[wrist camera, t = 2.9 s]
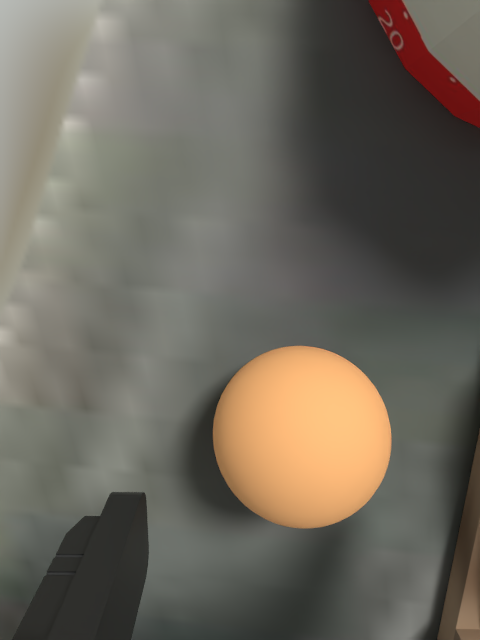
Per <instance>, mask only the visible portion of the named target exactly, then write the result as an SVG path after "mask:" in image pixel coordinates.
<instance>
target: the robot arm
mask: <svg viewBox="0 0 480 640" xmlns="http://www.w3.org/2000/svg"><path fill="white" fill-rule="evenodd" d="M148 555H149V545H148V525H147V505H146V495H145V493H144V492H112V493H111V494H110V495H109V497H108V500H107V502H106V504H105V507H104V509H103V511H102V514H101V516H85V517H83V518H82V519H81V520H80V521H79V522H78V523H77V524H76V525H75V526H74V527H73V528H72V529H71V530H70V531H69V532H68V533H67V534H66V536H65V538H64V539H63V541H62V543H61V545H60V547H59V549H58V551H57V553H56V558H54V559H53V561H52V563H51V565H50V567H49V569H48V571H47V575H46V576H45V577H44V579H43V580H42V582H41V584H40V586H39V588H38V590H37V592H36V594H35V596H34V598H33V600H32V602H31V604H30V606H29V608H28V610H27V612H26V614H25V616H24V618H23V620H22V621H21V623H20V625H19V627H18V629H17V631H16V633H15V635H14V637H13V639H12V640H131V637H132V633H133V629H134V625H135V621H136V616H137V612H138V608H139V604H140V600H141V596H142V592H143V588H144V583H145V579H146V574H147V567H148Z"/></svg>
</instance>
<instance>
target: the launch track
mask: <svg viewBox="0 0 480 640" xmlns="http://www.w3.org/2000/svg"><path fill="white" fill-rule="evenodd" d="M437 640H480V430H479V435H478V440H477V445H476V450H475V455H474V460H473V465H472V470H471V475H470V480H469V485H468V490H467V495H466V499H465V504H464V509H463V514H462V519H461V524H460V529H459V534H458V539H457V544H456V549H455V554H454V559H453V564H452V569H451V573H450V578H449V583H448V588H447V593H446V598H445V603H444V608H443V613H442V618H441V623H440V628H439V633H438V638H437Z"/></svg>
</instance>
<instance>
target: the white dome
mask: <svg viewBox="0 0 480 640" xmlns="http://www.w3.org/2000/svg"><path fill="white" fill-rule="evenodd" d="M369 3H370V5H371V7H372V9H373V10H374V12H375V14H376V16H377V18H378V20H379V21H380V23H381V25H382V27H383V29H384V31H385V32H386V34H387V36H388V38H389V40H390V42H391V44H392V45H393V47H394V49H395V51H396V53H397V55H398V56H399V58H400V60H401V62H402V64H403V66H404V68H405V69H406V70H407V71H408V72H409V73H410V74H411V75H412V76H413V77H414V78H415V79H416V80H417V81H418V82H420V83H421V84H422V85H423V86H424V87H425V88H426V89H427V90H428V91H429V92H430V93H431V94H432V95H433V96H434V97H435V98H436V99H437V100H438V101H439V102H440V103H441V104H442V105H443V106H445V107H446V108H447V109H448V110H449V111H450V112H451V113H452V114H453V115H454V116H455V117H457V118H459V119H462V120H464V121H466V122H468V123H470V124H472V125H475V126H477V127H479V128H480V0H369Z"/></svg>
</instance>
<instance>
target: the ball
mask: <svg viewBox="0 0 480 640" xmlns="http://www.w3.org/2000/svg"><path fill="white" fill-rule="evenodd" d="M213 445H214V451H215V455H216V460H217V463H218V466H219V469H220V471H221V473H222V475H223V477H224V479H225V481H226V483H227V484H228V486H229V488H230V489H231V490H232V492H233V493H234V494H235V495H236V497H237V498H238V499H239V500H240V501H241V502H242V503H243V504H244V505H245V506H246V507H248V508H249V509H250V510H251V511H253V512H254V513H256V514H258V515H259V516H261V517H263V518H264V519H266V520H269V521H271V522H273V523H276V524H279V525H282V526H287V527H292V528H318V527H323V526H327V525H331V524H334V523H336V522H339V521H341V520H343V519H345V518H347V517H349V516H350V515H352V514H354V513H355V512H357V511H358V510H359V509H360V508H361V507H363V506H364V505H365V504H366V503H367V502H368V501H369V499H370V498H371V497H372V496H373V494H374V493H375V491H376V490H377V489H378V487H379V485H380V483H381V482H382V480H383V478H384V475H385V472H386V470H387V466H388V463H389V458H390V454H391V427H390V423H389V418H388V414H387V410H386V408H385V405H384V403H383V400H382V398H381V396H380V395H379V393H378V391H377V389H376V388H375V386H374V385H373V384H372V382H371V381H370V380H369V379H368V377H367V376H366V375H365V374H364V373H363V372H362V371H361V370H360V369H359V368H358V367H356V366H355V365H354V364H352V363H351V362H349V361H348V360H346V359H345V358H343V357H341V356H339V355H337V354H335V353H333V352H330V351H327V350H325V349H320V348H316V347H308V346H289V347H282V348H278V349H274V350H271V351H268V352H266V353H264V354H261V355H260V356H258V357H256V358H254V359H253V360H251V361H250V362H248V363H247V364H246V365H244V366H243V367H242V368H241V369H240V370H239V371H238V372H237V373H236V374H235V375H234V376H233V378H232V379H231V380H230V382H229V383H228V385H227V386H226V388H225V390H224V391H223V393H222V395H221V397H220V400H219V402H218V405H217V409H216V413H215V417H214V424H213Z"/></svg>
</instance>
